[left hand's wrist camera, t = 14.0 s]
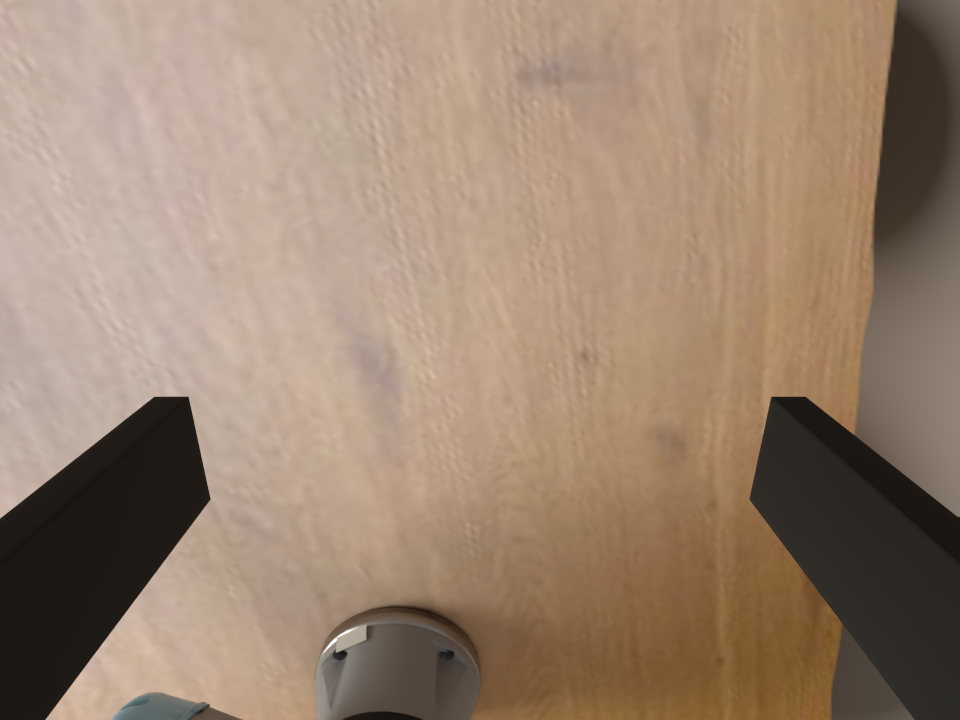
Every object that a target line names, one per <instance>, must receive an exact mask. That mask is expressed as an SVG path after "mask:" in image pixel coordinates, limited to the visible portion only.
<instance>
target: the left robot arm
mask: <svg viewBox="0 0 960 720" xmlns="http://www.w3.org/2000/svg"><path fill="white" fill-rule="evenodd" d="M209 501H210V495H209V490H208V486H207V481H206V476H205V472H204V467H203V462H202V458H201V453H200V448H199V443H198V439H197V434H196V429H195V425H194V420H193V415H192V411H191V406H190V401H189V397H154V398H152V399H151V400H150V401H149V402H147V403H146V404H145V405H144V406H142V407H141V408H140V409H138V410H137V411H136V412H135V413H133V414H132V415H131V416H130V417H128V418H127V419H126V420H125V421H123V422H122V423H121V424H119V425H118V426H117V427H116V428H114V429H113V430H112V431H111V432H109V433H108V434H107V435H106V436H104V437H103V438H102V439H101V440H99V441H98V442H97V443H95V444H94V445H93V446H92V447H90V448H89V449H88V450H87V451H85V452H84V453H83V454H82V455H80V456H79V457H78V458H76V459H75V460H74V461H73V462H71V463H70V464H69V465H68V466H66V467H65V468H64V469H63V470H61V471H60V472H59V473H57V474H56V475H55V476H54V477H52V478H51V479H50V480H49V481H47V482H46V483H45V484H44V485H42V486H41V487H40V488H38V489H37V490H36V491H35V492H33V493H32V494H31V495H30V496H28V497H27V498H26V499H25V500H23V501H22V502H21V503H20V504H18V505H17V506H16V507H14V508H13V509H12V510H11V511H9V512H8V513H7V514H6V515H4V516H3V517H2V518H1V519H0V720H45V719H46V718H47V717H48V715H49V714H50V713H51V711H52V710H53V709H54V707H55V706H56V705H57V703H58V702H59V701H60V699H61V698H62V697H63V695H64V694H65V693H66V691H67V690H68V689H69V687H70V686H71V685H72V683H73V682H74V681H75V679H76V678H77V677H78V675H79V674H80V673H81V671H82V670H83V669H84V667H85V666H86V665H87V663H88V662H89V661H90V659H91V658H92V657H93V655H94V654H95V653H96V651H97V650H98V649H99V647H100V646H101V645H102V643H103V642H104V641H105V639H106V638H107V637H108V635H109V634H110V633H111V631H112V630H113V629H114V627H115V626H116V625H117V623H118V622H119V621H120V619H121V618H122V617H123V615H124V614H125V613H126V611H127V610H128V609H129V607H130V606H131V605H132V603H133V602H134V601H135V599H136V598H137V597H138V595H139V594H140V593H141V591H142V590H143V589H144V587H145V586H146V585H147V583H148V582H149V581H150V579H151V578H152V577H153V575H154V574H155V573H156V571H157V570H158V569H159V567H160V566H161V565H162V563H163V562H164V561H165V559H166V558H167V557H168V555H169V554H170V553H171V551H172V550H173V549H174V547H175V546H176V545H177V543H178V542H179V541H180V539H181V538H182V537H183V535H184V534H185V533H186V531H187V530H188V529H189V527H190V526H191V525H192V523H193V522H194V521H195V519H196V518H197V517H198V515H199V514H200V513H201V511H202V510H203V509H204V507H205V506H206V505H207V503H208V502H209ZM750 501H751V502H752V503H753V505H754V506H755V507H756V509H757V510H758V511H759V513H760V514H761V515H762V517H763V518H764V519H765V521H766V522H767V523H768V525H769V526H770V527H771V529H772V530H773V531H774V533H775V534H776V535H777V537H778V538H779V539H780V541H781V542H782V543H783V545H784V546H785V547H786V549H787V550H788V551H789V553H790V554H791V555H792V557H793V558H794V559H795V561H796V562H797V563H798V565H799V566H800V567H801V569H802V570H803V571H804V573H805V574H806V575H807V577H808V578H809V579H810V581H811V582H812V583H813V585H814V586H815V587H816V589H817V590H818V591H819V593H820V594H821V595H822V597H823V598H824V599H825V601H826V602H827V603H828V605H829V606H830V607H831V609H832V610H833V611H834V613H835V614H836V615H837V617H838V618H839V619H840V621H841V622H842V623H843V625H844V626H845V627H846V629H847V630H848V631H849V633H850V634H851V635H852V637H853V638H854V639H855V641H856V642H857V643H858V645H859V646H860V647H861V649H862V650H863V651H864V653H865V654H866V655H867V657H868V658H869V659H870V661H871V662H872V663H873V665H874V666H875V667H876V669H877V670H878V671H879V673H880V674H881V675H882V677H883V678H884V679H885V681H886V682H887V683H888V685H889V686H890V687H891V689H892V690H893V691H894V693H895V694H896V695H897V697H898V698H899V699H900V701H901V702H902V703H903V705H904V706H905V707H906V709H907V710H908V711H909V713H910V714H911V715H912V717H913V718H914V719H915V720H960V517H957V516H956V515H954V514H953V513H952V512H951V511H949V510H948V509H947V508H946V507H944V506H943V505H942V504H940V503H939V502H938V501H937V500H935V499H934V498H933V497H932V496H930V495H929V494H928V493H927V492H925V491H924V490H923V489H922V488H920V487H919V486H918V485H916V484H915V483H914V482H913V481H911V480H910V479H909V478H908V477H906V476H905V475H904V474H902V473H901V472H900V471H899V470H897V469H896V468H895V467H894V466H892V465H891V464H890V463H889V462H887V461H886V460H885V459H883V458H882V457H881V456H880V455H878V454H877V453H876V452H875V451H873V450H872V449H871V448H870V447H868V446H867V445H866V444H865V443H863V442H862V441H861V440H859V439H858V438H857V437H856V436H854V435H853V434H852V433H851V432H849V431H848V430H847V429H846V428H844V427H843V426H842V425H841V424H839V423H838V422H837V421H835V420H834V419H833V418H832V417H830V416H829V415H828V414H827V413H825V412H824V411H823V410H822V409H820V408H819V407H818V406H816V405H815V404H814V403H813V402H811V401H810V400H809V399H808V398H806V397H771V401H770V406H769V411H768V415H767V420H766V425H765V429H764V434H763V439H762V443H761V448H760V453H759V457H758V462H757V467H756V472H755V476H754V481H753V486H752V490H751V495H750ZM479 692H480V661H479V657H478V654H477V651H476V649H475V647H474V645H473V644H472V642H471V641H470V639H469V638H468V637H467V636H466V635H465V634H464V633H463V632H462V631H461V630H460V629H459V628H458V627H456V626H455V625H453V624H452V623H450V622H449V621H447V620H445V619H443V618H441V617H439V616H437V615H434V614H431V613H428V612H425V611H421V610H416V609H410V608H382V609H376V610H371V611H367V612H364V613H361V614H358V615H356V616H354V617H352V618H350V619H348V620H346V621H345V622H343V623H342V624H340V625H339V626H338V627H337V628H336V629H335V630H334V631H333V632H332V633H331V634H330V635H329V637H328V638H327V640H326V641H325V643H324V645H323V648H322V651H321V654H320V657H319V660H318V663H317V667H316V671H315V698H316V720H471V717H472V714H473V711H474V709H475V706H476V703H477V700H478V697H479ZM111 720H242V719H239V718H236V717H234V716H231V715H228V714H226V713H223V712H221V711H218V710H216V709H213V708H210V705H209V704H207V703H205V702H201V703H199V704H198V703H195V702H191V701H188V700H184V699H181V698H177V697H173V696H170V695H167V694H164V693H158V692H153V693H147V694H144V695H141V696H139V697H137V698H135V699H133V700H132V701H130V702H129V703H127V704H126V705H125V706H124V707H123V708H121V709H120V710H119V711H118V712H117V713H116V714H115V715H114V716H113V717H112V719H111Z"/></svg>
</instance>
